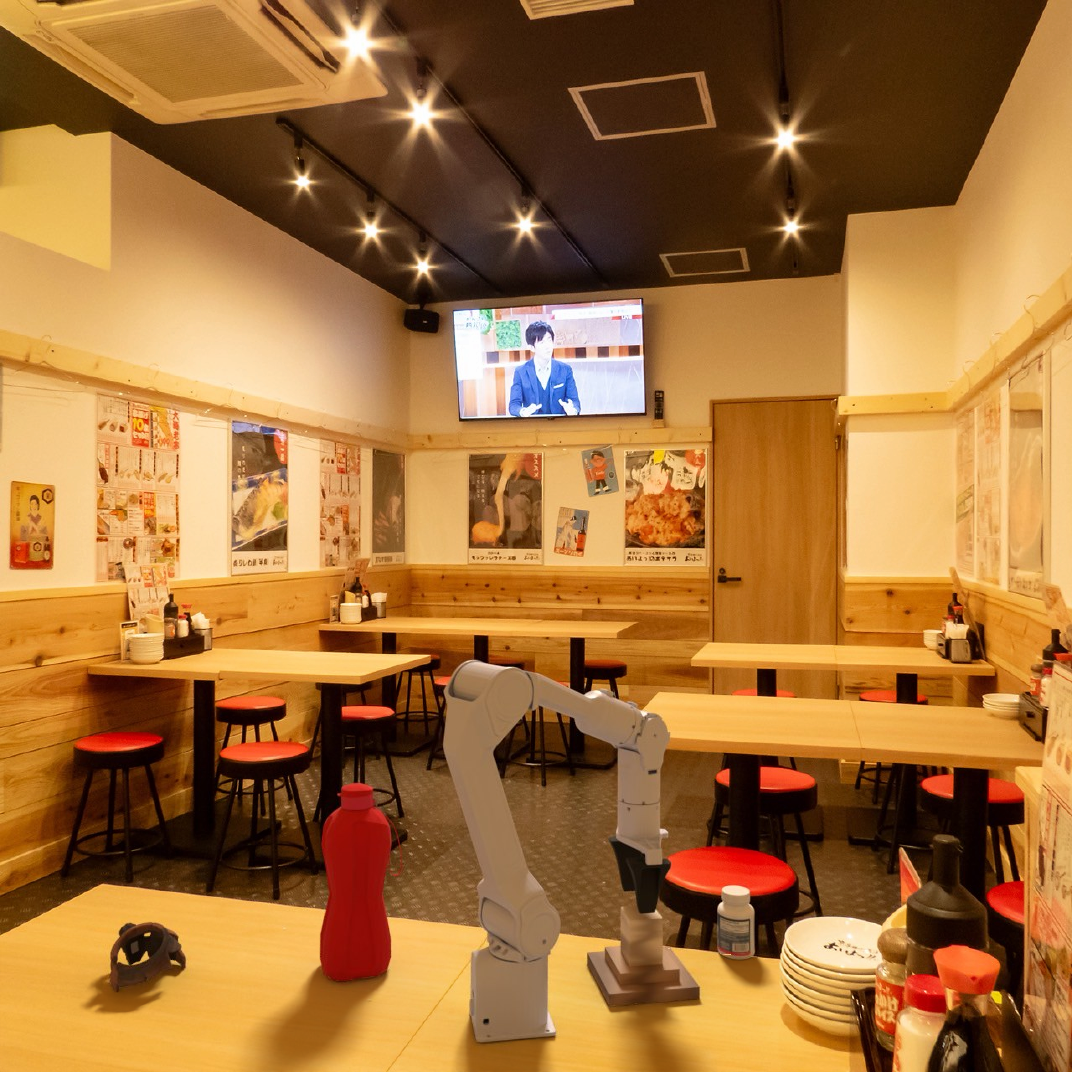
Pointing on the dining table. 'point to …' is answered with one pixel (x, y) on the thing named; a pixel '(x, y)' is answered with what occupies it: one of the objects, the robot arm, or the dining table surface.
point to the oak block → (641, 937)
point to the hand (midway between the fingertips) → (638, 901)
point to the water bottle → (356, 887)
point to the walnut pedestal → (641, 978)
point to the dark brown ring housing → (135, 944)
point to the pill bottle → (736, 924)
